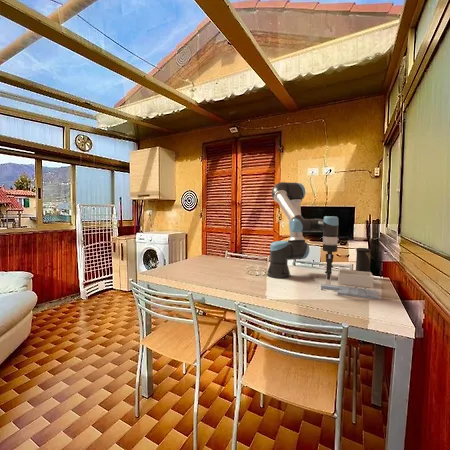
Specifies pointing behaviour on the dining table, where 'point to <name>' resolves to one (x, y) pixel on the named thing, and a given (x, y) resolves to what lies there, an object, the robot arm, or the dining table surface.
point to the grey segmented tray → (352, 291)
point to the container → (363, 259)
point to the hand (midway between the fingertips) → (328, 281)
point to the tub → (355, 278)
